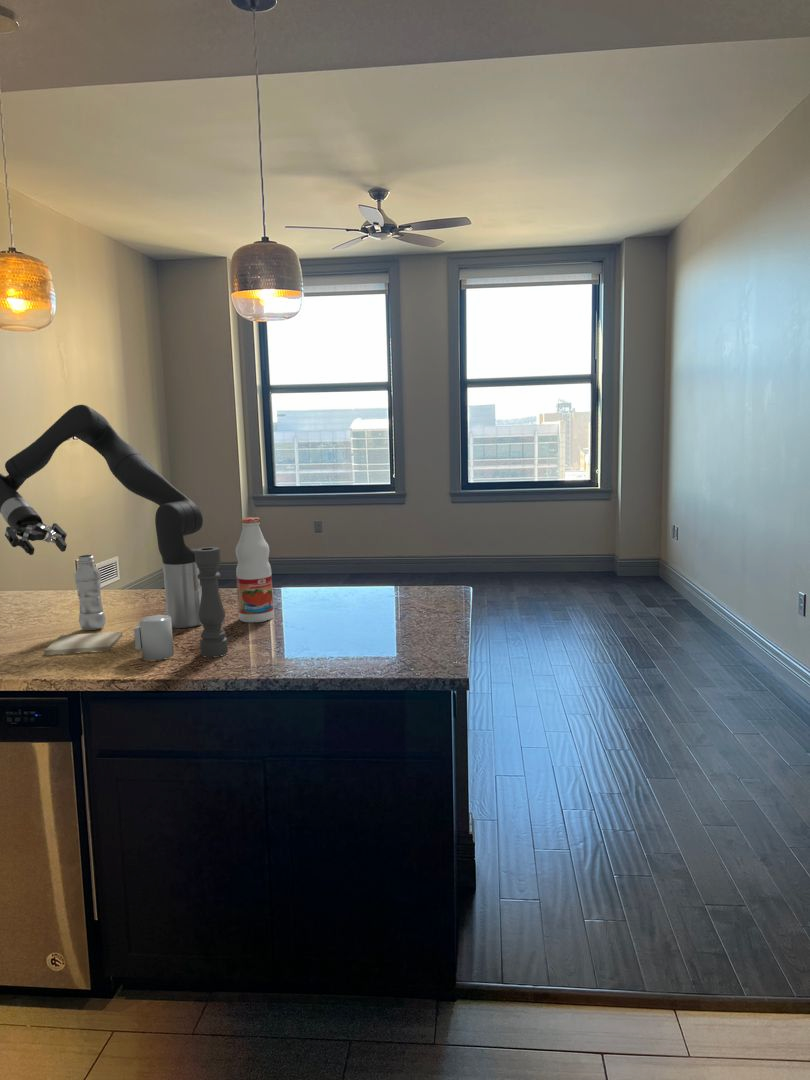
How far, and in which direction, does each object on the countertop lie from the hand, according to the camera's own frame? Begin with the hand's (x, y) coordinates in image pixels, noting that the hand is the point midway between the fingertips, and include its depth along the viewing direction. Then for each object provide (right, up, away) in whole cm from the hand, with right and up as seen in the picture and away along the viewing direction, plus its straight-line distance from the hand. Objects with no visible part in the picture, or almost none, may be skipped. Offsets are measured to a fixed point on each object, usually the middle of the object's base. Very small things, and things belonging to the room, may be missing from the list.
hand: (48, 550), depth 198 cm
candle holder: (+49, -24, -21) cm, 59 cm away
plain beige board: (+15, -23, -12) cm, 30 cm away
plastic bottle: (+11, -21, +3) cm, 24 cm away
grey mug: (+36, -24, -22) cm, 49 cm away
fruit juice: (+53, -19, +9) cm, 57 cm away
